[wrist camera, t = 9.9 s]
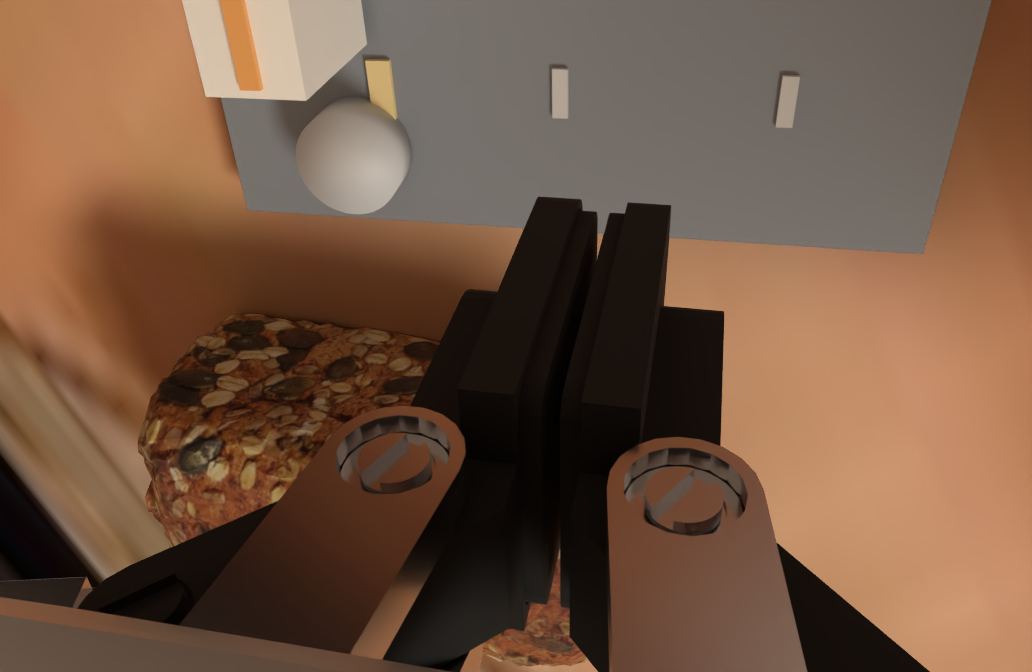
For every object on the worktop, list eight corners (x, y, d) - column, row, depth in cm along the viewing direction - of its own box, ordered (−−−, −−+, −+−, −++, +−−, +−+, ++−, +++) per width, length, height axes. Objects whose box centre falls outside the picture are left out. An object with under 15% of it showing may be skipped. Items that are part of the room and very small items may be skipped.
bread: (653, 362, 36) (631, 552, 28) (618, 537, 42) (591, 732, 34) (223, 287, 38) (87, 443, 30) (251, 464, 44) (145, 631, 36)
